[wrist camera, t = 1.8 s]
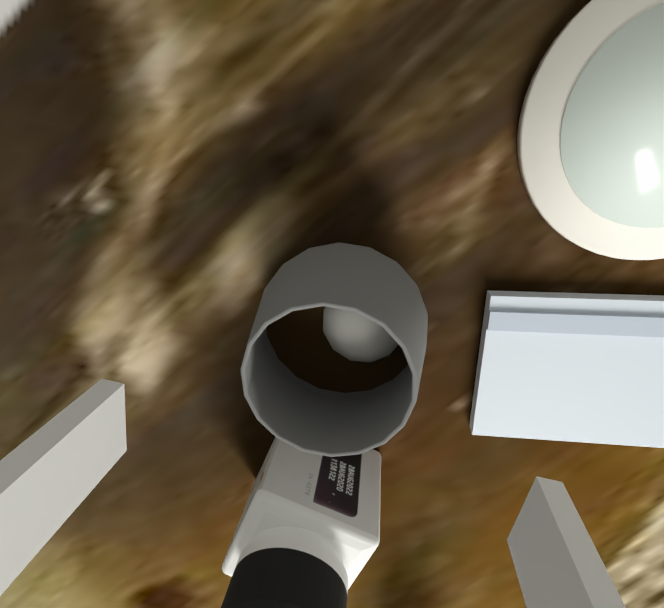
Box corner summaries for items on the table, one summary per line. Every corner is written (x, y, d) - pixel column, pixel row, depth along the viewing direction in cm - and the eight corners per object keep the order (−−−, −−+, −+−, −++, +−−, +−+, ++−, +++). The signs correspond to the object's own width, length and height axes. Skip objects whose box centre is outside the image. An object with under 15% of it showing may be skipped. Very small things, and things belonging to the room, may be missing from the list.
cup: (410, 215, 24) (425, 259, 15) (431, 355, 27) (455, 463, 18) (259, 245, 26) (188, 301, 17) (295, 373, 29) (253, 480, 20)
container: (287, 410, 30) (221, 585, 18) (382, 450, 30) (380, 650, 18) (254, 481, 33) (179, 673, 21) (342, 518, 33) (317, 728, 21)
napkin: (469, 425, 29) (472, 437, 27) (487, 290, 25) (492, 297, 24) (721, 442, 27) (737, 456, 26) (780, 298, 23) (802, 307, 22)
